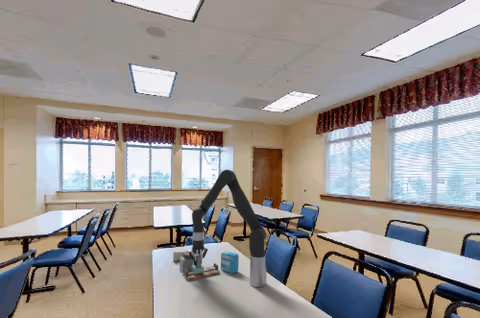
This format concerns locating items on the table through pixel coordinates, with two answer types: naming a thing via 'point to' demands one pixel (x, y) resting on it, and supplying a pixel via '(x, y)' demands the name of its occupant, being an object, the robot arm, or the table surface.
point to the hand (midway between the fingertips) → (197, 265)
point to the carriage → (198, 266)
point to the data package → (229, 262)
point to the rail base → (206, 273)
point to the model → (177, 255)
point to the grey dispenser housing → (186, 261)
